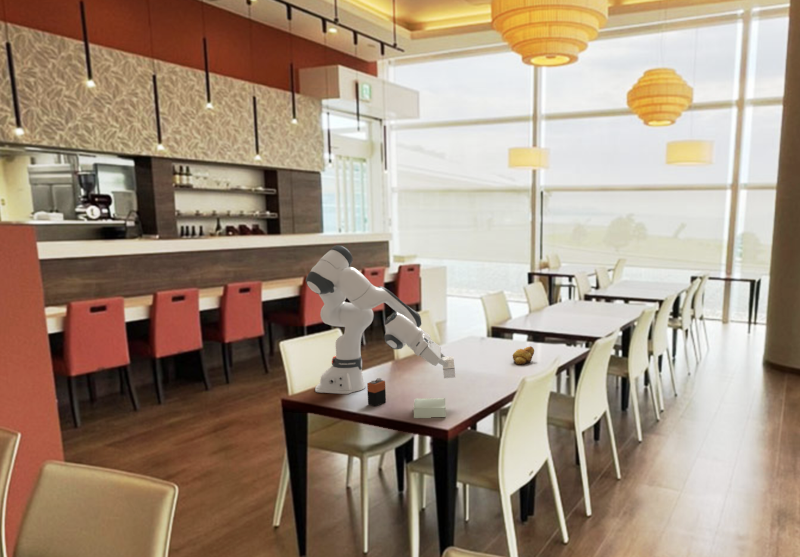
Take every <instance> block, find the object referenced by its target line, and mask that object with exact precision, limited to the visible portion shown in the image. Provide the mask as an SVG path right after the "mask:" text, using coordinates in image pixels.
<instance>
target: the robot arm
mask: <svg viewBox="0 0 800 557" xmlns="http://www.w3.org/2000/svg"><path fill="white" fill-rule="evenodd" d="M353 260H354V258H353V254H352V253H351V251H349V249H348V248H347V247H344V246H343V245H339V244H337V245H334V246H332V247H331V248H330V249H329V250H328V251H327V252H326V253H325V254H324V255H323V256H322V257H321V258H319V260H318V261H317V263H316V264H315V265H314V266H313V267H312V268H311V270H310V271H309V272H308V273H307V275H306V277H305V283H306V285H307V287H308V288H309V289H310V290H311V291H312V292H314V293H315V294H317V295H318V296H319V297H320V299H321V301H322V302H323V306H322V307H321V309H320V319H321V321H322V322H323V323H324V324H325V325H329V326H332V327H341V328H342V327H343V328H344V333H343V334H342V335H340V336H338V338H336V341H335V355H334V356H332V359H331V366H330V367H329V368H328V369H327V370H325V371H324V372H323V373H322V375H321V376H320V379H319V380H320V381H319V383H318V384H316V385H315V387H314V391H315V393H322V394H324V393H325V394H326V393H327V394H338V395H341V394H342V395H348V394H351V393H354V392H355V393H356V392H359V391H361V390H364V389H365V388H366V384H365V381H364V376H363V370H362V369H363V359H362V358H363V357H362V355H361V346H362V345H361V344H362V343H361V342H362V338H363V337H362V336H363V334H364V332H365V330H366V329H367V328H368V327H369V326H370V325H371V324H372V322H373V321H374V311H373V309H375V308H376V307H378V306H380V305H382V304H384V303H385V304H386V305H388V306H389V307H390V308H391V309H392V310H394V312H392V313H391V314H390V315H389V316H388V317H387V318H386V320H385V322H384V324H383V325H384V326H385V333H384V341H385V343H386V345H387V346H389V347H390V348H391V349H393V350H402V349H403V348H404V347H405V346H407V347H408V348H409V349H411V350H412V351H413V352H414V355H416V356H417V357H419V356H420V357H421V359H423V360H425V361H426V362H428V363H429V364H430V365H431V366H434V367H436V366H438V364H439V365H440V366H442V367H443V366H444V367H447V366H448V363H447V362H446V361H444V360H443V359H442V357H446V356H445V355H444V353H443V352H441V350H442V349H441V346H440V345H439V344H438V343H436V341H434V340H432V339H431V335H430V334H429V333H428V332H426V331H425V330H423V328H421V326H422V317H421V315H420V313H418V311H416V310H415V309H413V308H412V307H410V306H409V305H407V304H406V303H405V302H403V301H402V300H401V299H400V298H399V297H397V296H396V295H395V294H394V293H393V292H392V291H390V290H389V289H387V288H386V287H384V286H380V285H378V286H375V285H374V284H372V283H371V281H369V279H368V278H367V277H366V276H365V275H364V274H363V273H362V272H361V271H359V270H358V269H357V268H355V267H353V266H352V263H353V262H354V261H353ZM346 299H347V300H348V301H349V302H348V301H346Z"/></svg>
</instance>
